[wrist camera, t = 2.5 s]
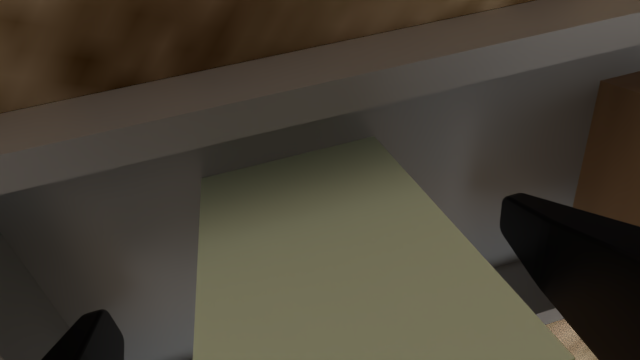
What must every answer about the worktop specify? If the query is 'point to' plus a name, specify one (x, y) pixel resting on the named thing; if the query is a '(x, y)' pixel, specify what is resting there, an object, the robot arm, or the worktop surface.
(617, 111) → the walnut block
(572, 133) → the bin
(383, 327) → the sage block
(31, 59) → the worktop surface
